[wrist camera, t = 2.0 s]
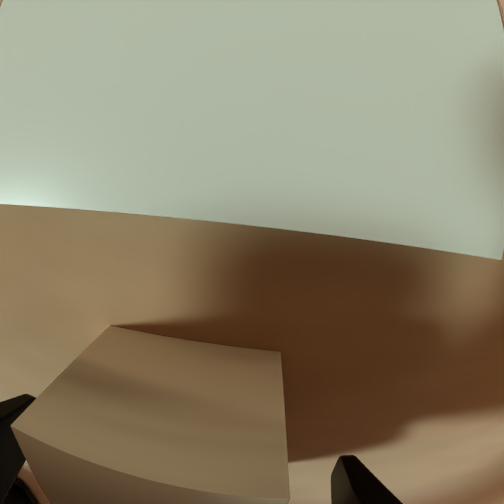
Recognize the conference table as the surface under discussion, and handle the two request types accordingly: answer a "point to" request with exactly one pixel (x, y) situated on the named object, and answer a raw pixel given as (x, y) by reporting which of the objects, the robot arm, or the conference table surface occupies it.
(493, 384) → the conference table surface
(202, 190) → the sage board
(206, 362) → the beige cube
